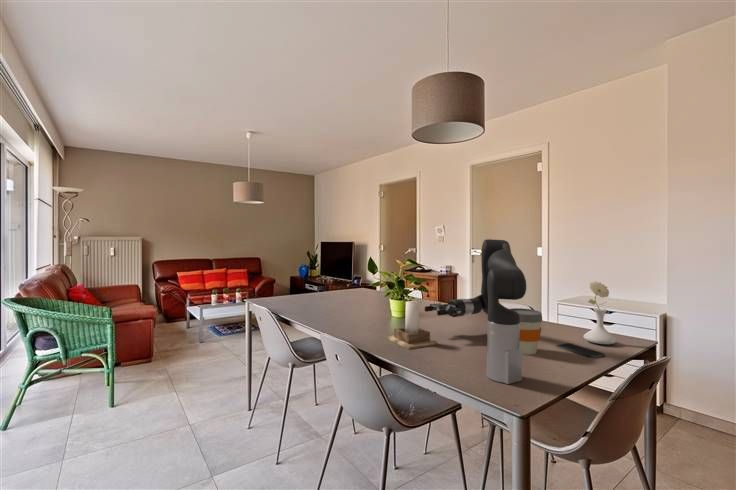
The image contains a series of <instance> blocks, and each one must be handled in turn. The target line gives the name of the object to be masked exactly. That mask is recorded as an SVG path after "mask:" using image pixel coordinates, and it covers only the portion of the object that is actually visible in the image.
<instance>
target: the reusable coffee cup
mask: <svg viewBox="0 0 736 490" xmlns="http://www.w3.org/2000/svg"><path fill="white" fill-rule="evenodd" d="M510 309H511V310H513V311H516V312H517V313H519V315H520V336H519V348H520V349H522V355H524V356H525V355H526V356H527V355H529V356H531V355H536V353H537V351H538V343H539V341H540V338H541V333H542V327H541V324H542V322H543V314H542V313H543V312H541V311H539V310H537V309H531V308H523V307H522V308H520V307H518V308H517V307H515V308H513V307H512V308H510Z"/></svg>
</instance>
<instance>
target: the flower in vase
mask: <svg viewBox="0 0 736 490" xmlns="http://www.w3.org/2000/svg"><path fill="white" fill-rule="evenodd" d="M589 289H590V291H591V292H592V293H593V294H594V299H593V298H590V299H589V300H588V301H587V302H588V303H589V304H592V305H596V307H594V308H593V309H592V310H593V311H594V312H595V315H596V325H595V327H594V328H592V329H591V330H588V331H587V332H586V333H584V334H583V338H584V339H585V340H586V341H588V342H591V343H593V344H599V345H612V344H615V343H617V339H616V337H615V336H614V335H613V334H612V333H611V332H609V331H608V330H607V329H606V328H605V327H604V319H605V315H606V313H607V312H608V309H606V308H602V307H601V308H600V306H602V305H604V304H607V301H605V302H602V303H600V304H598V303H597V296H598V297H599V298H601V299H602V298H603V299H604V298H608V297H609V295H610V291H609V289H608V286H606V285H605V284H603V283H602V282H601V281H599V282H598V280H594V281H593V282H590V283H589Z"/></svg>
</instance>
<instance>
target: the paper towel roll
mask: <svg viewBox="0 0 736 490" xmlns="http://www.w3.org/2000/svg"><path fill="white" fill-rule="evenodd" d="M404 313H405V316H404V317H405V320H404V321H405V324H404V326H405V327H404V328H405V333H408V334H414V333H419V328H420V302H419V301H414V300H413V301H412V300H411V301H405V312H404Z"/></svg>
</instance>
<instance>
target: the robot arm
mask: <svg viewBox="0 0 736 490" xmlns="http://www.w3.org/2000/svg"><path fill="white" fill-rule="evenodd" d="M480 254H481V256H480V257H481V259H480V260H481V262H480V263H481V288H480V294H479V295H477V296H474V297H472V298H458V299H450V300H449V301H448V302H447V303H430V304H429V305H425V306H424V312H425V313H427V312H436V315H437V316H439V317H440V316H449V317H452V318H459V317H466V316H469V315H476V314H479V313H481V312H482V311H483V313H485V314H486V315H487V331H486V333H487V334H486V335H487V336H486V341H487V342H486V377H487V378H488V379H490V380H492V381H495V382H497V383H498V382H499V383H504V384H506V385H509V384H513V383H517V382H521V381H522V380H523V378H522V377H523V373H522V372H523V354H522V349H520V348H519V336H520V315H519V313H517V312H516V311H513V310H511V309H512V308H508V307H506V306H504V305H503V304H501V303H500V301H499V300H510V301H511V300H512V301H515V300H516V301H517V300H522V298H523V297H525V295H526V292H527V279H526V277H525V274H524V273H523V271H522V269H521V268H520V267H519V266H518V265H517V261H516V259H515V258H514V256H513V254H512V250H511V245H510V243H509V242H508V241H507V240H504V239H491V238H490V239H485V240H483V242H482V245H481V253H480Z"/></svg>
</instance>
